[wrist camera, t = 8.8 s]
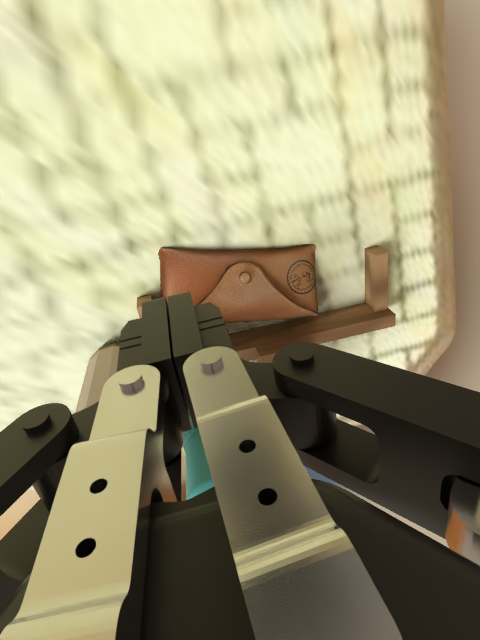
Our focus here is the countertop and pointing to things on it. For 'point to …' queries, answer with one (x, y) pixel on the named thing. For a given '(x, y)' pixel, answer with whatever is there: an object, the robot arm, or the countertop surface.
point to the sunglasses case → (244, 281)
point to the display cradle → (320, 318)
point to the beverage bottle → (196, 464)
